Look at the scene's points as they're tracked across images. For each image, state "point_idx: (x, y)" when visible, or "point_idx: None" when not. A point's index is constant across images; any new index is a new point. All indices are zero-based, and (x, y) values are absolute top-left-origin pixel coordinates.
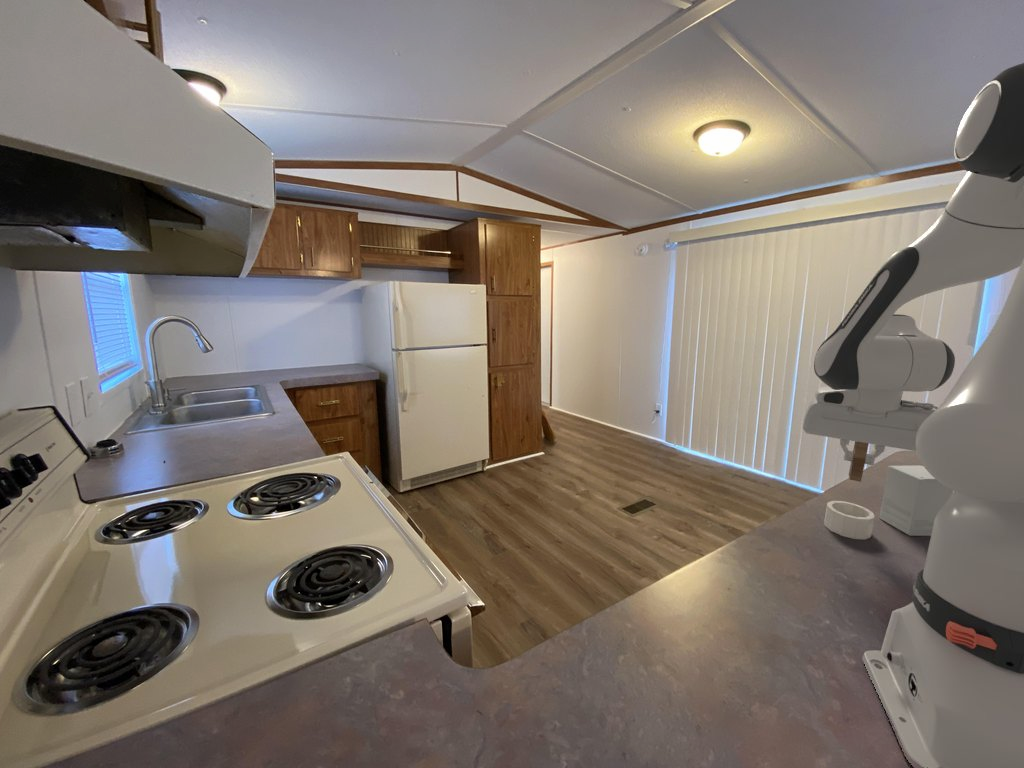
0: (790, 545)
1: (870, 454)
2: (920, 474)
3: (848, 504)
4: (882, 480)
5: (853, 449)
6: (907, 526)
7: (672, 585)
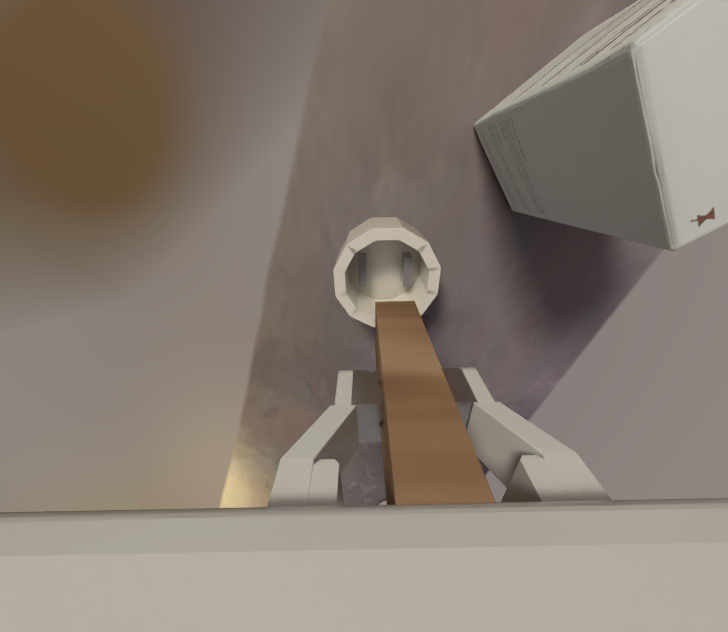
0: (299, 383)
1: (473, 414)
2: None
3: (385, 239)
4: None
5: (384, 394)
6: (520, 206)
7: (224, 502)
